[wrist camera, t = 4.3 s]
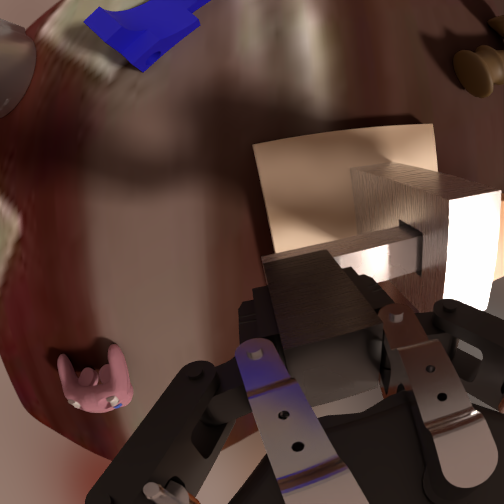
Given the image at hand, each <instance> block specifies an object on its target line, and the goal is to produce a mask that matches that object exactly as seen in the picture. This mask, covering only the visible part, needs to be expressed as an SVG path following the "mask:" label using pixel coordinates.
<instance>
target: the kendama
mask: <svg viewBox="0 0 504 504" xmlns="http://www.w3.org/2000/svg"><path fill="white" fill-rule="evenodd" d="M487 23H488V24H489V26H490V27H492V28H493V29H494V30H495V31H496V32H497V33H498V34H499V35H501V36H502V37H503V38H504V15H502V16H498V17H494V18H492V19H490V20H488V22H487ZM453 66H454V70H455V73H456V75H457V78H458V79H459V81H460V83H461V85H462V86H463V87H464V88H465V89H466V90H467V91H468V92H469V93H470V94H472V95H473V96H475V97H479V98H484V97H488V96H489V95H490V94H491V93H492V92H493V84H496V85H501V84H504V50H495V49H493V48H491V47H490V46H487V45H481V46H479V47H477V49H476V51H475V53H474V52H472V51H469V50H461V51H459V52H457V53H456V54H455V56H454V58H453Z"/></svg>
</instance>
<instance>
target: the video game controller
mask: <svg viewBox="0 0 504 504" xmlns="http://www.w3.org/2000/svg"><path fill="white" fill-rule="evenodd" d="M108 361H109V364H106V365H104V366H102V367H101V369H100V371H99V378H100V380H101V382H102V383H103V384H101V385H97V382H98V373H97V372H96V371H95V370H93V369H91V368H89V367H87V368H84V369H83V370H82V372H81V375H80V377H79V379H78V377H77V375H76V373H75V371H74V368H73V366H72V364H71V362H70V360H69V358H68V357H67V356H66V355H65V354H61V355H60V356H59V357H58V361H57V366H58V371H59V375H60V379H61V382H62V387H63V391H64V395H65V397H66V398H67V399H68V402H69V403H70V404H72V405H73V406H74V407H76V408H79V409H81V410H84V411H87V412H93V413H102V412H107V411H111V410H113V409H115V408H119V407H123V406H126V405H127V404H128V403H129V402H130V401H131V399H132V397H133V387H132V385H131V383H130V378H129V373H128V368H127V364H126V360H125V357H124V355H123V353H122V351H121V349H120V348H119V346H118V345H117V344H111V345H110V347H109V349H108Z"/></svg>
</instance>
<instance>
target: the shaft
mask: <svg viewBox="0 0 504 504" xmlns="http://www.w3.org/2000/svg"><path fill="white" fill-rule="evenodd" d="M422 252H423V233H422V232H421V231H419V230H417V229H416V228H414V227H412V226H410V225H409V224H404V225H400V226H396V227H391V228H387V229H382V230H378V231H374V232H369V233H365V234H360V235H356V236H351V237H347V238H342V239H338V240H333V241H329V242H324V243H320V244H316V245H311V246H307V247H302V248H297V249H293V250H288V251H284V252H279V253H275V254H270V255H266V256H261V259H262V263H263V268H264V273H265V277H266V282H267V285H268V288H269V292H270V296H271V300H272V305H273V309H274V313H275V318H276V322H277V326H278V330H279V335H280V340H281V345H282V349H283V354H284V359H285V364H286V369H287V371H288V373H289V375H290V377H291V378H293V377H294V378H295V379H296V380H297V382H298V384H299V386H300V388H301V389H302V391H303V393H304V395H305V397H306V399H307V400H308V402H309V404H310V406H311V407H314V406H317V405H322V404H325V403H329V402H333V401H336V400H340V399H343V398H347V397H350V396H353V395H356V394H359V393H362V392H366V391H369V390H372V389H375V388H377V387H378V380H379V371H380V361H381V350H382V337H383V321H382V320H381V319H380V317H379V316H378V315H377V313H376V312H375V311H374V309H373V308H372V307H371V305H370V304H369V303H368V301H367V300H366V299H365V297H364V296H363V295H362V294H361V292H360V291H359V290H358V288H357V287H356V286H355V284H354V283H353V282H352V281H351V279H350V278H349V277H348V275H347V274H346V273H345V272H344V270H343V269H342V268H346V267H350V266H351V267H352V268H353V269H354V270H355V271H356V273H357V274H358V275H362V274H365V275H367V276H370V277H372V278H373V279H374V280H375V281H376V282H377V283H378V282H381V281H385V280H388V279H392V278H395V277H399V276H402V275H405V274H409V273H412V272H415V271H419V270H422Z"/></svg>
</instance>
